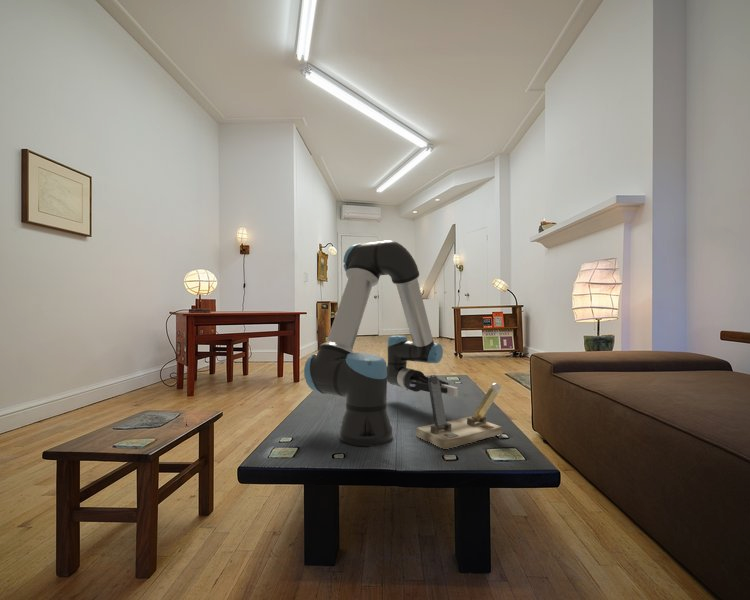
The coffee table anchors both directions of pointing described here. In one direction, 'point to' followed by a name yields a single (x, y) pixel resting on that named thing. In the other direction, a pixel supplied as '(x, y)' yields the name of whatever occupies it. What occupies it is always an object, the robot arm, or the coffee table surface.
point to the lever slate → (437, 402)
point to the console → (458, 432)
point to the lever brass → (486, 402)
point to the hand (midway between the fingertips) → (456, 392)
